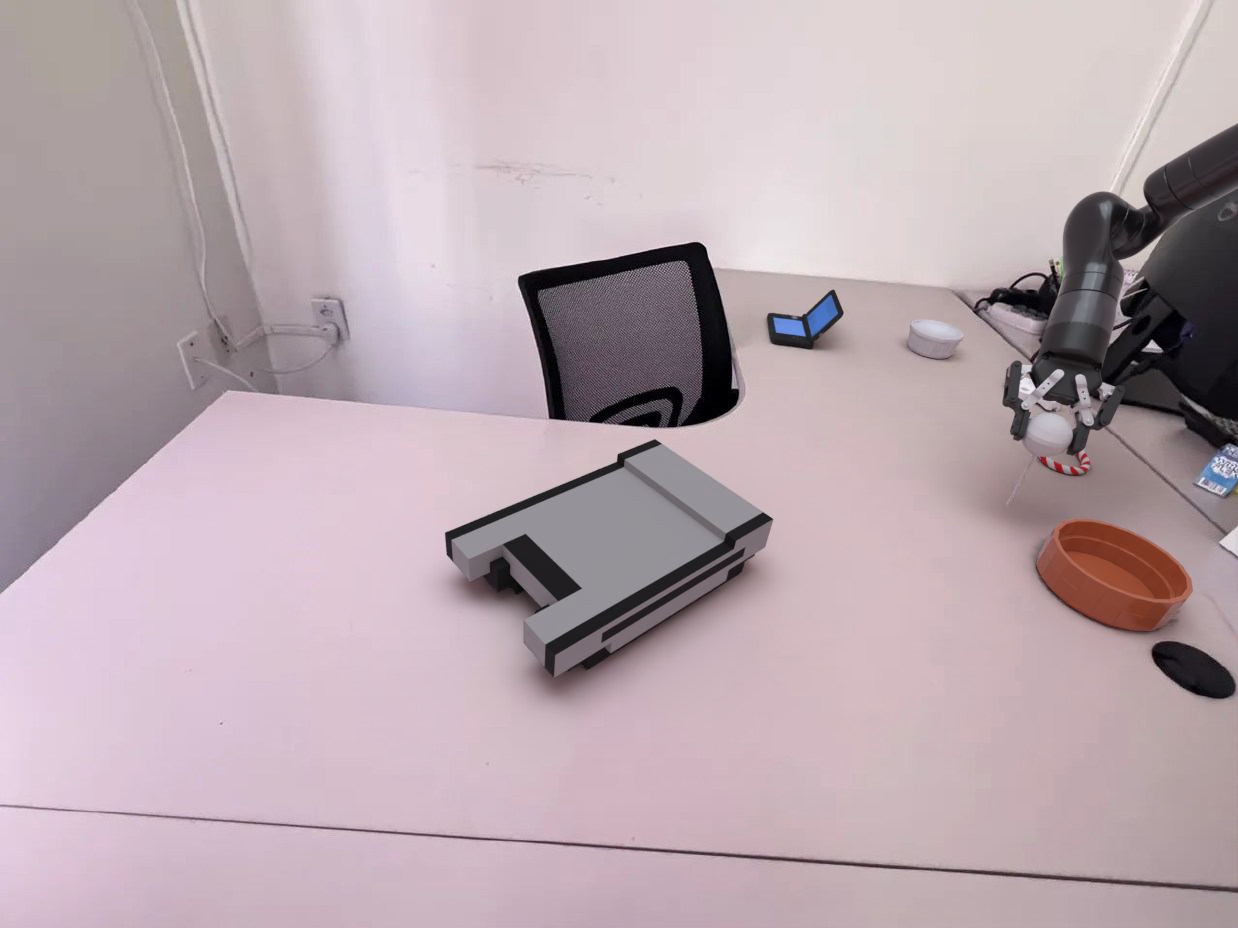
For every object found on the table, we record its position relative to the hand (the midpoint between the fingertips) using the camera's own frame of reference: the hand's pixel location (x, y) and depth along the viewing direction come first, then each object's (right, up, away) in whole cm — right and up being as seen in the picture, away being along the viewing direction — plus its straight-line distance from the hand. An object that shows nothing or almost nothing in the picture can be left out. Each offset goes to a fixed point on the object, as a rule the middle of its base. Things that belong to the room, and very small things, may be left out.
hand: (1044, 446), depth 86 cm
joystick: (+25, +11, +44) cm, 52 cm away
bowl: (+6, -19, -1) cm, 20 cm away
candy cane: (+20, -1, +27) cm, 34 cm away
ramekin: (+13, +23, +60) cm, 65 cm away
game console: (-16, +27, +61) cm, 68 cm away
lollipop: (0, -8, +8) cm, 12 cm away
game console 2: (-58, -16, -7) cm, 60 cm away
